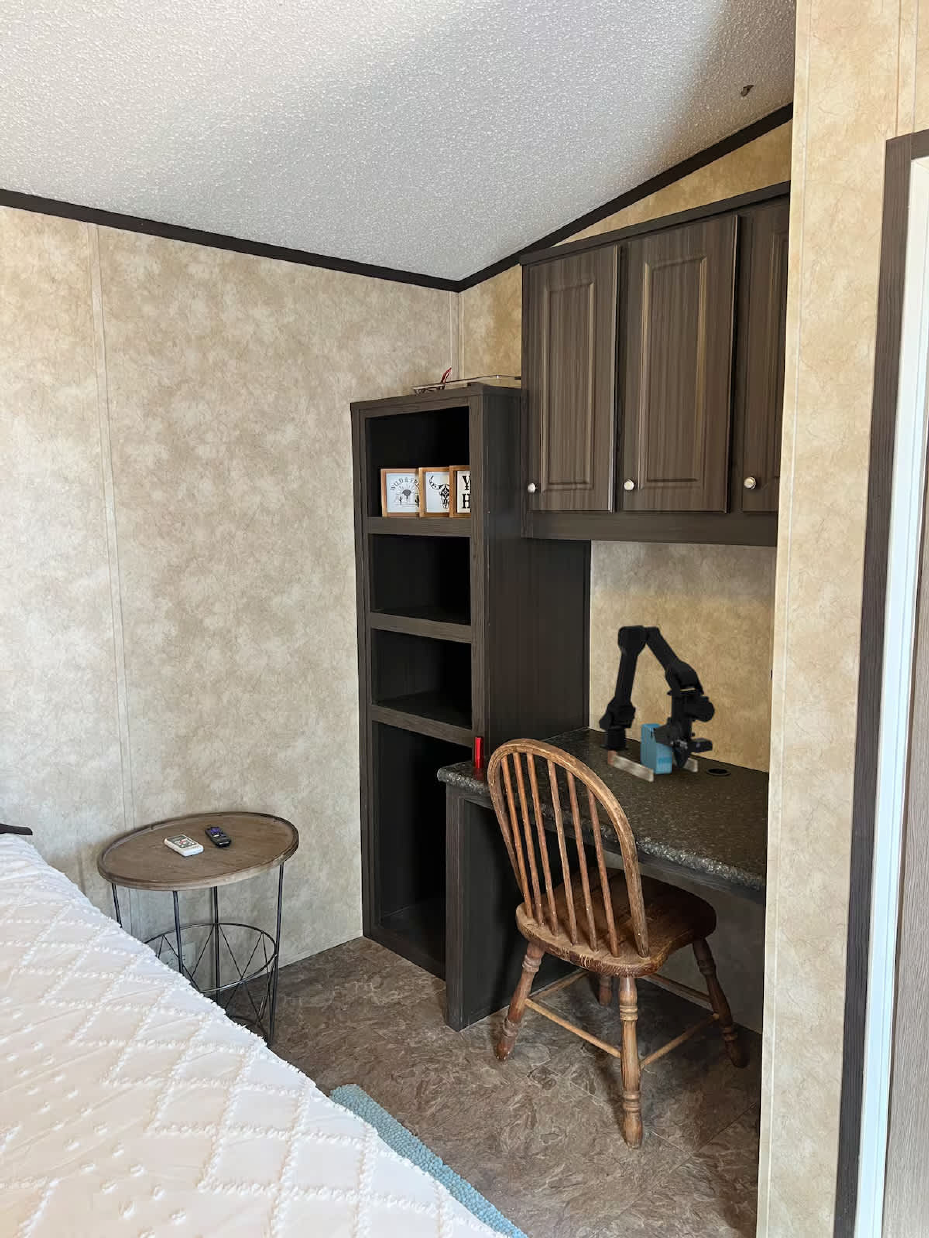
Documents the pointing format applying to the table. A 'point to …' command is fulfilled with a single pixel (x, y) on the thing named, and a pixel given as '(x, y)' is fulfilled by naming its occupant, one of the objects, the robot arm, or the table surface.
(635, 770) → the bay
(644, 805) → the table surface
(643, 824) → the table surface
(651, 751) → the data package
